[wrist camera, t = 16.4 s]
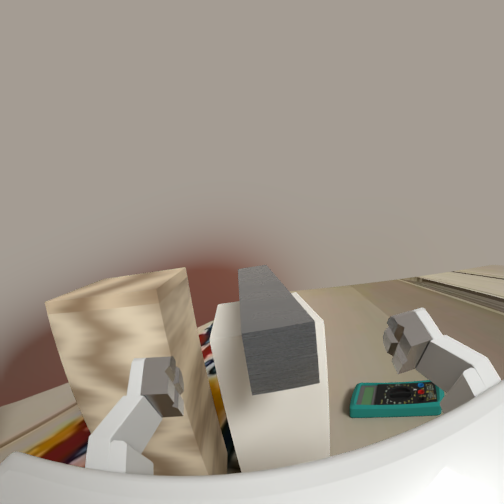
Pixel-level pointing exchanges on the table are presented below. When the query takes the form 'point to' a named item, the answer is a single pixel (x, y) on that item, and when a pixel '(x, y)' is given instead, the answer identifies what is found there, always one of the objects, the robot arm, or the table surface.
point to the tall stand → (140, 346)
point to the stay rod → (275, 334)
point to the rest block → (269, 402)
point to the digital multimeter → (396, 399)
